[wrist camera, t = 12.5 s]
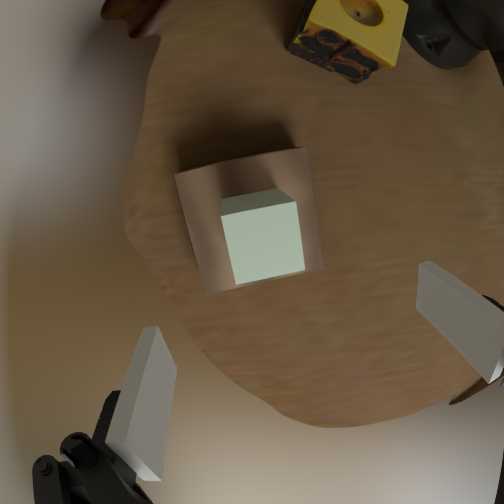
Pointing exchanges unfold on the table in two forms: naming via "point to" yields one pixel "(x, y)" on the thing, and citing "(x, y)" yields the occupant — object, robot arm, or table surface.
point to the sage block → (262, 235)
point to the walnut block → (239, 183)
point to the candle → (350, 35)
